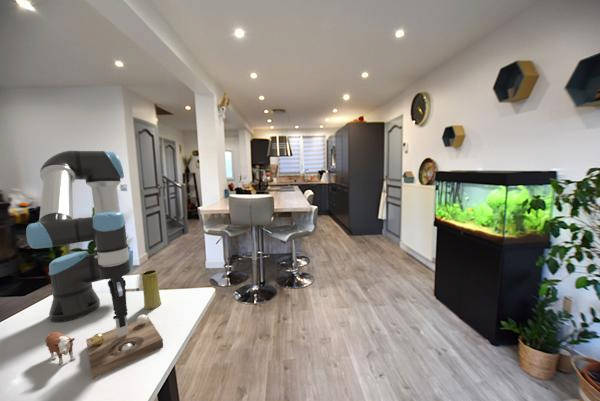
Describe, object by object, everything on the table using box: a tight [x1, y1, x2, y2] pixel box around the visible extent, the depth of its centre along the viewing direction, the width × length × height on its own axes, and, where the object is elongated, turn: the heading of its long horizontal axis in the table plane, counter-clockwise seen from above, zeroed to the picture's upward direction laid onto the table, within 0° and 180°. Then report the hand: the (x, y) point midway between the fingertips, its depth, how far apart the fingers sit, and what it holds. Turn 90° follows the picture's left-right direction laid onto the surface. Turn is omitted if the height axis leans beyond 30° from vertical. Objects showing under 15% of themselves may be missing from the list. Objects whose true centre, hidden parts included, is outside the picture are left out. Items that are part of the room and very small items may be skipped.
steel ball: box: [121, 343, 133, 351], centre depth 74 cm, size 3×3×3 cm
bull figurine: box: [45, 331, 76, 366], centre depth 72 cm, size 4×13×8 cm, turn 58°
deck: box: [85, 316, 164, 380], centre depth 77 cm, size 18×17×2 cm
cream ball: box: [135, 314, 148, 325], centre depth 84 cm, size 3×3×3 cm
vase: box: [141, 269, 162, 310], centre depth 101 cm, size 6×6×14 cm
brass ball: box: [91, 333, 104, 346], centre depth 75 cm, size 3×3×3 cm
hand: (123, 334), depth 78 cm, fingers closed
